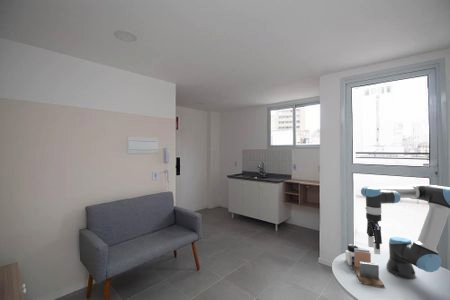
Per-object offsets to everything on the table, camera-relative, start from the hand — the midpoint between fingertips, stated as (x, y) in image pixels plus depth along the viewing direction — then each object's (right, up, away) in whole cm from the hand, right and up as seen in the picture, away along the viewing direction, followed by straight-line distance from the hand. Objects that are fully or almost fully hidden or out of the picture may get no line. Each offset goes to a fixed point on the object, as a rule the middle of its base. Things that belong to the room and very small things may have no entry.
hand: (374, 250), depth 123 cm
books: (+7, -22, +20) cm, 31 cm away
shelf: (+4, -23, +12) cm, 27 cm away
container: (+5, -24, +28) cm, 37 cm away
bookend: (+3, -22, +8) cm, 23 cm away
